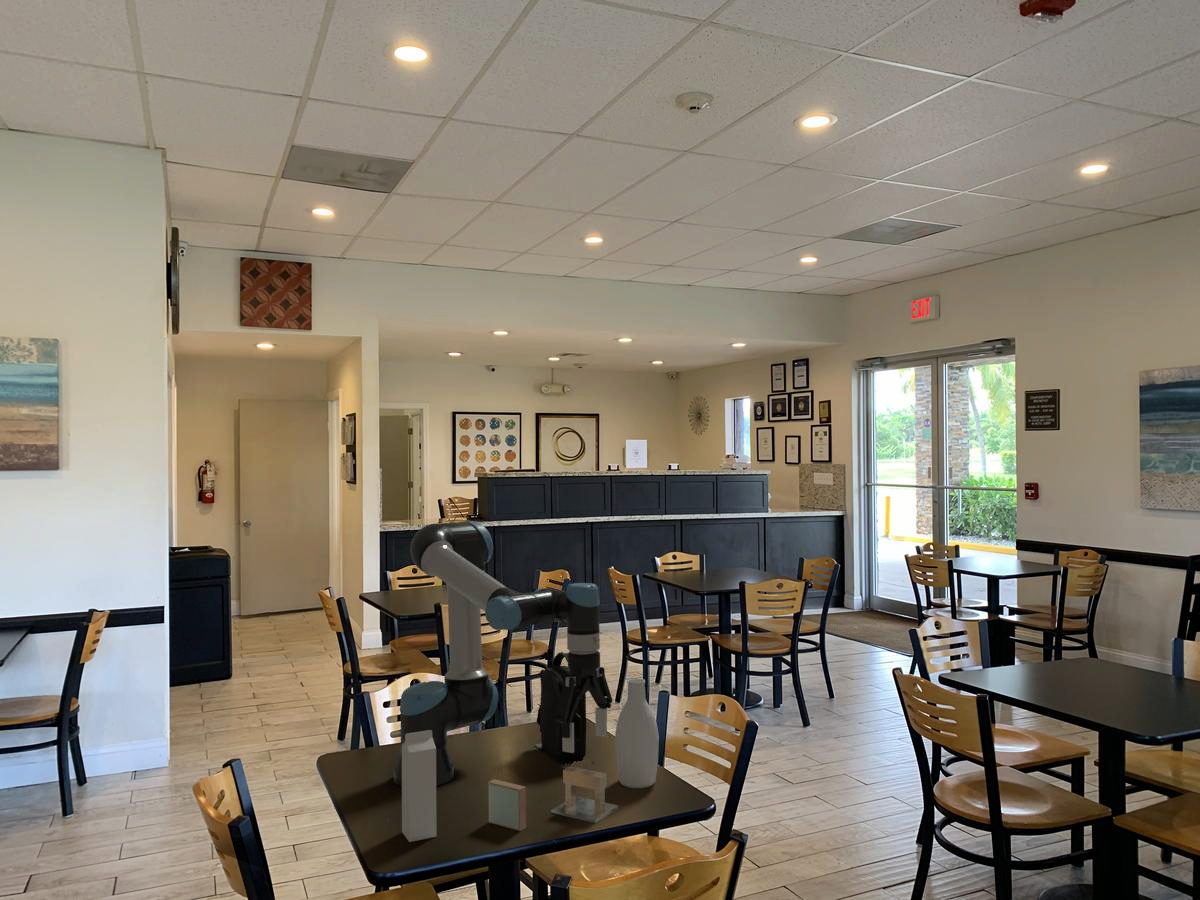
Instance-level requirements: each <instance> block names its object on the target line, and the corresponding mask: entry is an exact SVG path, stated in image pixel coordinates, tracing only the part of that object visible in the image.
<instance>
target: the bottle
mask: <svg viewBox="0 0 1200 900" xmlns="http://www.w3.org/2000/svg"><path fill="white" fill-rule="evenodd" d="M645 684H646V680H645V678H644V679H643V678H630V679H627V700H626V701H625V703H624V705H623V707H622V709H621V710H620V713H619V715H618V719H617V723H616V728H615V735H614V747H615V748H614V749H615V763H616V768H617V776H618V782H619V783H620V784H621V785H622V786H623V787H626V788H629V789H630V788H631V789H645V788H649V787H652V786H653V785H654V784H655V783H656V779H657V773H658V772H657V771H658V763H659V747H660V745H659V744H660V743H659V741H660V740H659V739H660V736H659V735H660V734H659V729H658V724H657V719H656V717H655V714H654V712H653V710H652V708H651V707H650V705H649V703H648V702H647V699H646V687H645V686H646V685H645Z"/></svg>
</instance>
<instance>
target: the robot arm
mask: <svg viewBox="0 0 1200 900" xmlns="http://www.w3.org/2000/svg"><path fill="white" fill-rule="evenodd" d="M493 552H494V544H493V539H492V536H491V533H490V532H489V530H488V529H487V528H486V526H484V525H483V524H482V523H480V522H476V521H467V520H466V521H457V522H445V523H444V522H443V523H431V524H428V525H425V526H423V527H422V528H420V529H419V530H418V531H417V532H416V533H415V534H414V536H413V537H412V540H411V543H410V549H409V553H410V558H411V559H412V562H413V564H414V565H415V566H416V567H417V568H418V569H419V570H420V571H421V572H423V573H424V574H426V575H428V576H429V577H436V578H438V579H440V580H441V581H442V582H444V583H445V584H447V610H448V611H447V614H448V619H447V620H448V640H449V641H448V642H449V643H448V646H449V647H448V648H449V670H448V671H447V672H446V673H445V674H444V682H443V681H440V680H431V681H430V680H428V681H427V682H426V681H423V682H418V683H415V684H413V685H410V686H408V687H407V688H406V689H405V690H403V692H402V693H401V695H400V706H399V713H400V749H399V753H398V757H397V761H396V766H395V767H394V770H393V783H394V784H396V785H398V786H400V787H402V744H403V743H404V742H405V735H406V734H407V733H414V732H421V731H428V730H432V738H433V741H434V744H435V747H436V787H438V786H441V785H444V784H446V783H449V782H450V781H452V780H453V779H454V777H455V768H454V763H452V759H451V755H450V753H449V752H450V750H449V749H448V740H447V739H448V738H447V737H448V735H447V734H448V732H451V731H455V730H459V729H462V728H463V729H464V728H467V727H470V726H477V725H479V724H480V723H483V722H486V721H489V720H490V719H491V718H492V716H494V714H495V712H496V711H497V707H498V703H499V693H498V688H497V686H496V683H495V681H494V680H493V679H492V678H491V677H489V672H488V671H487V670H486V669H485V668H484V667H483V653H482V652H483V651H482V648H483V647H482V620H481V619H482V618H481V617H482V615H481V610H482V611H484V614H485V619H486V621H487V622H488V625H489V627H490V628H492V629H493V630H496V631H504V630H506V631H511V630H513V629H517V628H518V629H519V628H522V627H527V626H535V625H539V624H540V625H541V624H546V623H552V622H556V623H564V624H566V628H567V629H566V632H567V633H566V637H567V638H566V641H567V642H566V644H567V645H566V646H567V650H568V652H567V653H568V662H567V666H568V668H569V669H571V670H572V676H571V677H564V678H563V688H562V692H561V696H560V700H559V704H558V708H557V712H556V716H555V721H557V722H561V725H562V749H563V751H564V752H570V753H574V723H572V722H571V721H572V719H573V716H574V714H575V711H576V708H577V706H578V703H579V701H580V698H581V697H582V696H583V695H584V693H586V694H587V693H588V692H589V694H590V696H591V697H592V699H593V701H594V703H595V704H596V706H597V707H594V712H595V713H594V714H595V715H594V717H595V719H594V721H595V737H599V738H600V737H602V738H607V737H608V713H607V712H608V711H607V710H608V709H611V708H612V703H613V697H612V694H611V691H610V688H609V685H608V681H607V678H606V673H605V671H606V670H605V667H604V666H601V652H600V651H599V650H600V648H601V645H600V643H601V639H600V605H601V601H600V595H599V587H598V585H597V584H595V583H590V582H577V583H576V582H574V583H569V584H568V585H567V587H566V590H563V589H554V588H551V587H545V588H544V587H543V588H536V590H534V591H532V592H524V593H516V592H515V591H513V590H512V589H510V588H509V587H507V586H505V585H504V584H502V583H501V582H500V581H498V580H497V579H495V578H494V577H493V576H491V575H489V574H488V573H487V572H485V571H486V568H485V564H487V563H488V562H489V561H490V560H491V557H492V556H493ZM575 690H576V691H575ZM567 717H568V718H567Z"/></svg>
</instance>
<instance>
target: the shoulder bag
mask: <svg viewBox="0 0 1200 900" xmlns="http://www.w3.org/2000/svg"><path fill="white" fill-rule="evenodd" d="M568 653H569V652H563V651H561V652H558V653H557V654H556V655H555V656H554V658H553V660H552V664H551V666H548V668H544V669H541V670H540V671H539V678H540V702H539V703H540V704H539V707H538V710H537V715H536V716H537V717H536V723H537V725H539V732H540V733H541V735H540V741H541V743H537V744H535V746H536V748H538V749H539V750H541V751H542V752H543V754H545V755H547V756H548V757H549V758H550V759H551V760H553V761H554V762H555V763H557V765H559V766H560V767H561V768H563V769H564V768H565V767H566V766H571V764H572V763H573V762H574V761H576V762H577V761H582V760H584V759H583V758H584V757H585V756H586V753H587V703H586V702H587V700H586V699H587V692H586V693H584V695H583V696H582V697H581V698H580V701H579V703H578V706H577V708H576V711H575V714H574V716H573V719H572V721H571V722H572V723H574V753H570V752H564V751H563V749H562V725H561V722H557V721H555V716H556V712H557V708H558V704H559V700H560V696H561V692H562V688H563V678H564V677H571V676H572V670H571V669H569V668H568V665H562V662H563V660H564V659H565V660H566V662H567V663H568ZM575 691H576V690H575ZM567 718H568V717H567ZM565 764H567V765H565ZM568 764H569V765H568ZM562 766H563V767H562ZM573 767H575V766H573ZM566 768H568V767H566ZM577 768H580V767H577Z"/></svg>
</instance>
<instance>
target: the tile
mask: <svg viewBox="0 0 1200 900" xmlns="http://www.w3.org/2000/svg"><path fill="white" fill-rule="evenodd" d="M487 784H488V785H487V787H488V789H487V790H488V793H487V794H488V795H487V796H488V797H487V798H488V804H487V805H488V806H487V807H488V823H489V824H492V825H496V826H500V827H503V828H508V829H512V830H514V831H518V832H522V831H523V830H525V829H527V794H526V792H527V790H526V789H527V787H526V786H523V785H520V784H516V783H513V782H508V781H504V780H499V779H495V778H494V779H492V780H489V781H488V783H487Z"/></svg>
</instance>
